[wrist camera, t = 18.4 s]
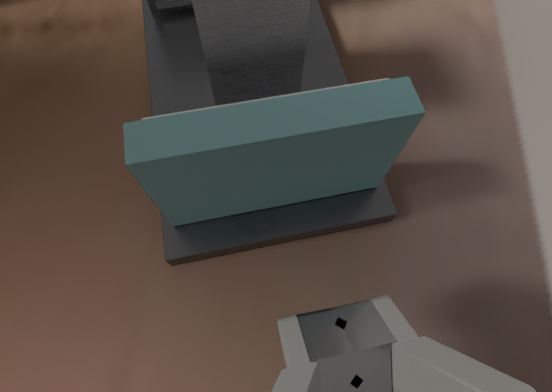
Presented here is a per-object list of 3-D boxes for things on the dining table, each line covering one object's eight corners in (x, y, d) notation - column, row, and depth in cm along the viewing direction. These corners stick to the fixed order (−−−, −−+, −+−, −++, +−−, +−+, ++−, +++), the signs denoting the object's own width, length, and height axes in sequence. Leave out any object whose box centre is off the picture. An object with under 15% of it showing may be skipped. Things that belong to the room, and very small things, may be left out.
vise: (391, 220, 18) (457, 146, 12) (171, 265, 17) (109, 211, 10) (305, -17, 25) (316, -144, 19) (146, 5, 24) (100, -122, 18)
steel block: (207, 55, 21) (165, -139, 13) (281, 43, 21) (288, -151, 13) (218, 116, 19) (177, -62, 11) (299, 103, 20) (319, -79, 11)
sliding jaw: (378, 186, 17) (425, 112, 12) (172, 226, 17) (124, 164, 11) (365, 152, 18) (404, 67, 13) (169, 188, 17) (122, 113, 12)
